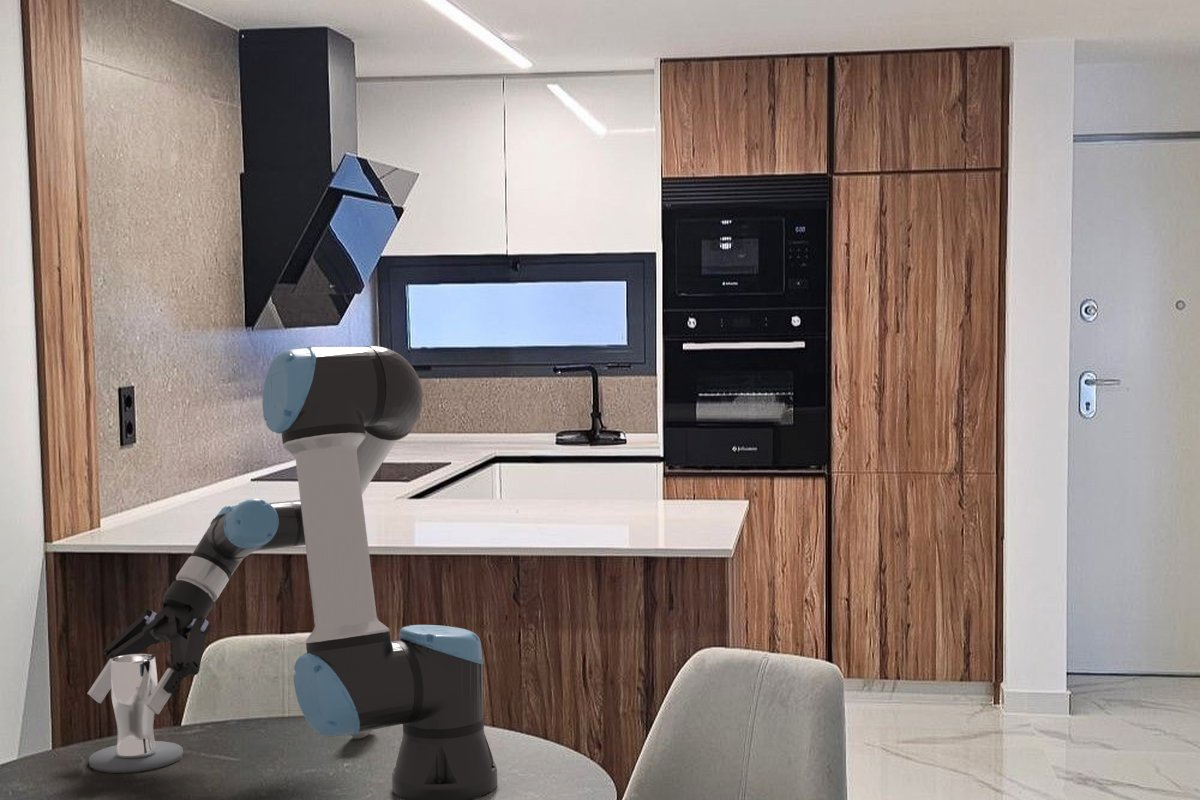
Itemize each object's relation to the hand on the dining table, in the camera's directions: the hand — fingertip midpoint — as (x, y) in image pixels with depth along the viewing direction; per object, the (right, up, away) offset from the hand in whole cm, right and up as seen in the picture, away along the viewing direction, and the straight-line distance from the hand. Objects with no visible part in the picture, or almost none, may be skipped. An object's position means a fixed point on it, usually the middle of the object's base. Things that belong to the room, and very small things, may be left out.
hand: (122, 704), depth 226 cm
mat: (+1, -9, +2) cm, 9 cm away
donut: (+35, -8, +12) cm, 38 cm away
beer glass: (+1, -8, +2) cm, 9 cm away
